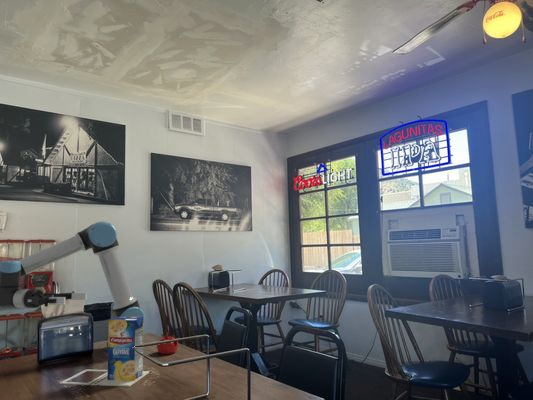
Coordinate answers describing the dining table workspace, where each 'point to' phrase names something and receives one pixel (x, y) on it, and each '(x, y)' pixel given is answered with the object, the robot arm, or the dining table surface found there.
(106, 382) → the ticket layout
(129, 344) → the blue cardboard box
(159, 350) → the pomegranate
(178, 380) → the dining table surface
